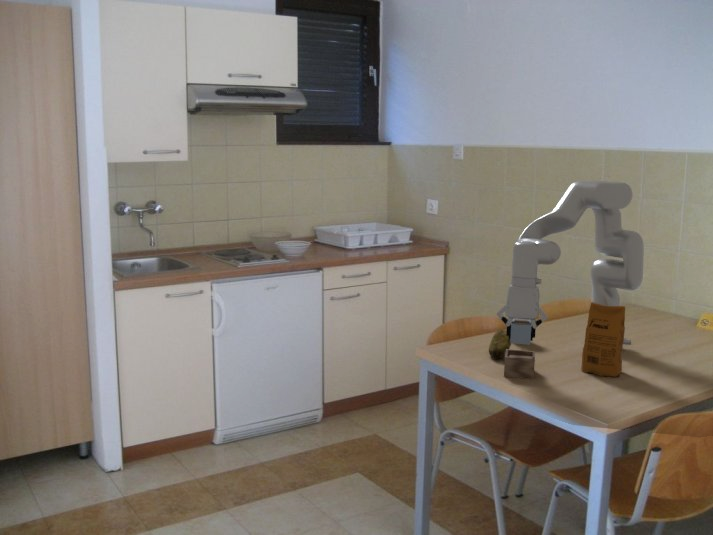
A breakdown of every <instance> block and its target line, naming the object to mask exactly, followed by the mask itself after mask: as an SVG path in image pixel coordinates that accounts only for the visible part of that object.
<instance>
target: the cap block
mask: <svg viewBox="0 0 713 535" xmlns="http://www.w3.org/2000/svg"><path fill="white" fill-rule="evenodd" d="M531 327H532V323H531V321H528V320H512V323H511V338H510V343H512V344H515V345H516V344H517V345H528V346H529V345H530V346H531Z"/></svg>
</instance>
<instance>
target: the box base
mask: <svg viewBox="0 0 713 535" xmlns="http://www.w3.org/2000/svg"><path fill="white" fill-rule="evenodd" d="M535 363H536V351H535V350H521V349H510V348H509V349H506V352H505V355H504V365H503V368H504V369H503V377H504V376H505V378H515V377H518V378H517V379H527V378H529V379H531V380H534V379H535V378H534V377H535V365H536V364H535Z"/></svg>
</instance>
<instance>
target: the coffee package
mask: <svg viewBox="0 0 713 535" xmlns="http://www.w3.org/2000/svg"><path fill="white" fill-rule="evenodd" d="M625 320H626V305H620V306H604V305H601V304H598V303H594V302H591V301H590V306H589V309H588V319H587V325H586V328H585V334H584V335H585V336H584V341H585V343H584V342H583V346H582V352H581V368H580V369H581V372H583V373H593V374H595V375H597V376H601V377H614V378H615V377H618V376H619V374H621V372H622V371H623V370H622V369H623V364H622V363H623V361H622V352H623V350H624V349H623V345H624V344H623V341H624V338H625V332H626V331H625V329H626V326H625Z"/></svg>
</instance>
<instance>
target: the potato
mask: <svg viewBox="0 0 713 535" xmlns="http://www.w3.org/2000/svg"><path fill="white" fill-rule="evenodd" d="M506 333H507V330H505V329H504V330H503V329H501V330H500V329H499V330H497V331H496V332H494V334H493V336H492V338H491V340H490V343H489V347H488V353H489V356H491V358H493V359H495V360H500V359H502V358H503V357H505V352H506V349H510V347H511V346H512V345H513V343H510V339H508V338H509V336H506Z"/></svg>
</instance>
